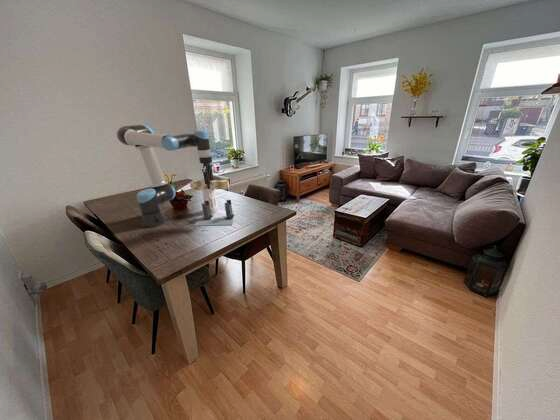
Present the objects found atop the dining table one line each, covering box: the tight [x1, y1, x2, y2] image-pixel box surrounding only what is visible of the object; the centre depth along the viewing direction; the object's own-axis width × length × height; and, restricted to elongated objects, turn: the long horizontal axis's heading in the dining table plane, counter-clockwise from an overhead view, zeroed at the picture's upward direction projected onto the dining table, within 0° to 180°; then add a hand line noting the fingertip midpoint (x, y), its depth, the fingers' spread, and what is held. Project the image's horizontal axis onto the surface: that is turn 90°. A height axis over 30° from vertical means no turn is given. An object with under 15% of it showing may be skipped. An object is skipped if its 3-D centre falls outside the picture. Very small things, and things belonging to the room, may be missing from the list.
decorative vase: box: [202, 190, 220, 215], centre depth 167 cm, size 11×11×25 cm
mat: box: [193, 219, 234, 227], centre depth 152 cm, size 26×7×1 cm, turn 89°
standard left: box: [201, 201, 214, 221], centre depth 158 cm, size 5×7×12 cm
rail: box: [189, 179, 230, 191], centre depth 145 cm, size 24×4×5 cm, turn 91°
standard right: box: [224, 199, 235, 220], centre depth 158 cm, size 5×7×12 cm
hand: (211, 192), depth 147 cm, fingers closed on rail, 4 cm apart
